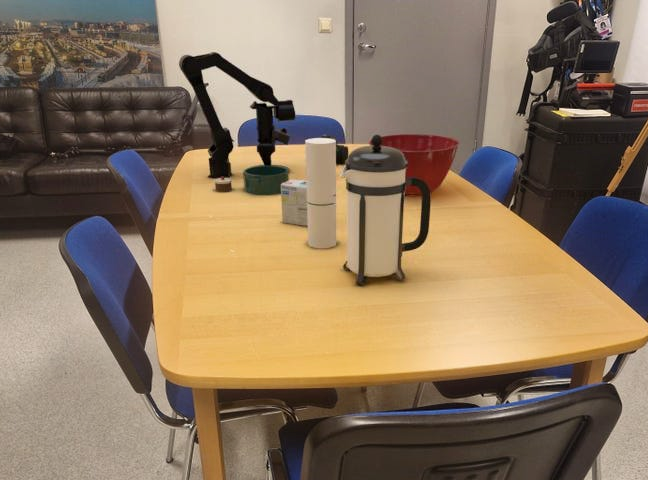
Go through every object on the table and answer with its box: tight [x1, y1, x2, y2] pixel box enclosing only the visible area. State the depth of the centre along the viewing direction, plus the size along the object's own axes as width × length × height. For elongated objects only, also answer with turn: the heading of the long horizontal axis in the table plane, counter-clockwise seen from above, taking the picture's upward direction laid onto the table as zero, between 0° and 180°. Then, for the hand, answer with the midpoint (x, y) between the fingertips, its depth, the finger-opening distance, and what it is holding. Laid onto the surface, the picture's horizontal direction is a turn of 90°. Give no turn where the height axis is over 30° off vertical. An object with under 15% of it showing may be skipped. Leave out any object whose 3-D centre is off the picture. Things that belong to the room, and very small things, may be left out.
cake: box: [213, 176, 233, 193], centre depth 203 cm, size 5×5×4 cm
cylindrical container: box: [304, 137, 337, 249], centre depth 152 cm, size 7×7×25 cm
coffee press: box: [339, 134, 432, 287], centre depth 134 cm, size 17×16×30 cm
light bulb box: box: [280, 178, 308, 227], centre depth 172 cm, size 11×7×11 cm, turn 65°
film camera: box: [320, 134, 350, 165], centre depth 237 cm, size 18×12×10 cm
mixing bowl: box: [368, 133, 460, 197], centre depth 201 cm, size 28×28×15 cm
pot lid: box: [248, 159, 291, 173], centre depth 224 cm, size 15×15×6 cm
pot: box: [242, 165, 290, 196], centre depth 204 cm, size 14×20×6 cm
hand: (267, 168), depth 225 cm, fingers open, 3 cm apart
